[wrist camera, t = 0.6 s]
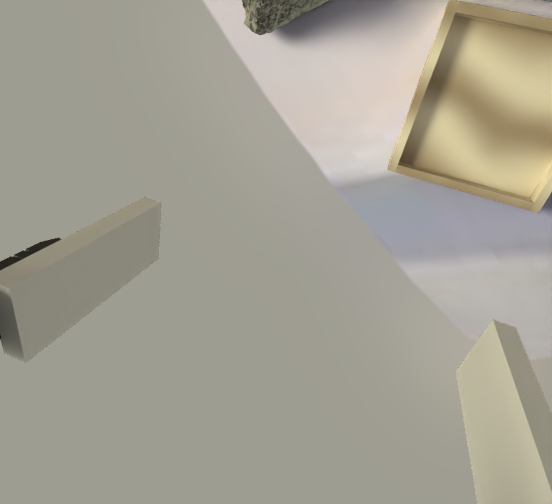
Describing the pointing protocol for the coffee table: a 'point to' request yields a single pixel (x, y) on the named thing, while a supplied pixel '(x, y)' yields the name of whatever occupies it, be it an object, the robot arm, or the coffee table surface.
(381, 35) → the coffee table surface
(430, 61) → the tray
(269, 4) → the stone
